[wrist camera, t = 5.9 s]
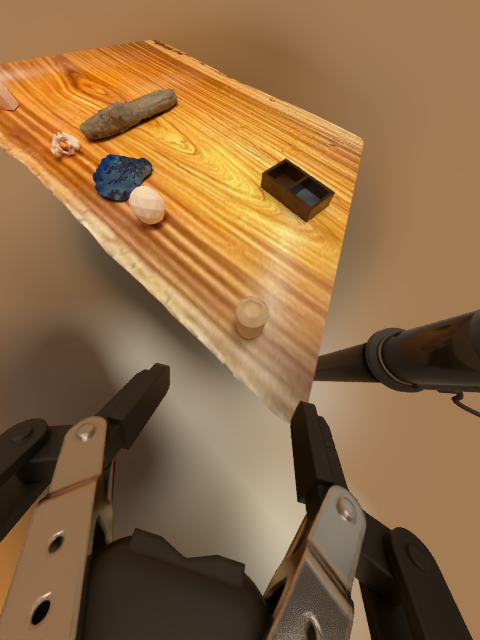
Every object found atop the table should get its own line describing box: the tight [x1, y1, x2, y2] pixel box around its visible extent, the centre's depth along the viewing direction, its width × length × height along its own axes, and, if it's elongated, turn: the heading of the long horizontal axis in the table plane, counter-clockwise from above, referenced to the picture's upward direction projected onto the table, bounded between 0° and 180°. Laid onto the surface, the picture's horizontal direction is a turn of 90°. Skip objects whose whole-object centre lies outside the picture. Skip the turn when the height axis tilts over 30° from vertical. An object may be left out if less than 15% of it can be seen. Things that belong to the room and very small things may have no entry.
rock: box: [93, 154, 152, 201], centre depth 50 cm, size 15×17×2 cm
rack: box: [261, 159, 335, 222], centre depth 48 cm, size 17×9×4 cm, turn 41°
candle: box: [236, 297, 269, 339], centre depth 32 cm, size 6×6×10 cm
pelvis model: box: [51, 132, 80, 156], centre depth 53 cm, size 8×4×7 cm
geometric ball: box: [129, 186, 166, 224], centre depth 43 cm, size 8×8×8 cm
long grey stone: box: [80, 89, 177, 140], centre depth 58 cm, size 35×5×10 cm
